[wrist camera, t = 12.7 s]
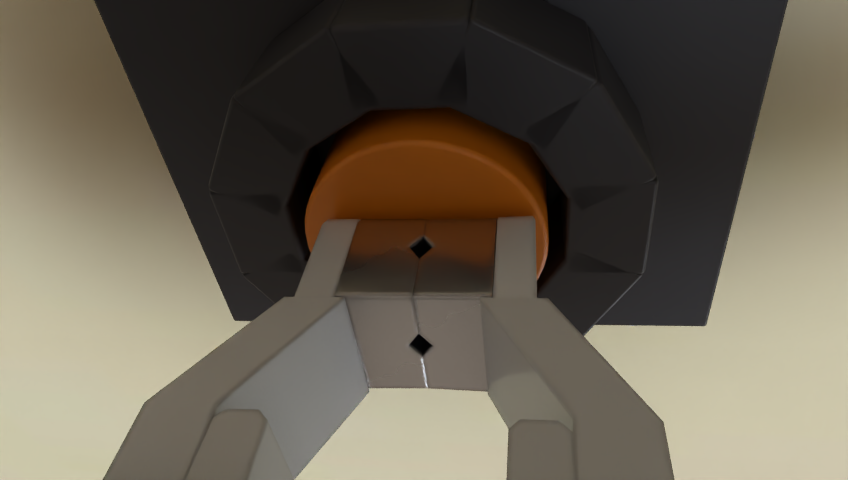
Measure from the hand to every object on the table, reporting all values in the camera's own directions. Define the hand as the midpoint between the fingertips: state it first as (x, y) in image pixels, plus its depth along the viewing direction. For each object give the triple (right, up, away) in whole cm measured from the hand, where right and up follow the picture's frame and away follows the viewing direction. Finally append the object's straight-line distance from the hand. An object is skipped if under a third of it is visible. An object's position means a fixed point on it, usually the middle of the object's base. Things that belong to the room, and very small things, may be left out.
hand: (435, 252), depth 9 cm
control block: (0, +3, +3) cm, 4 cm away
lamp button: (0, +1, +1) cm, 2 cm away
